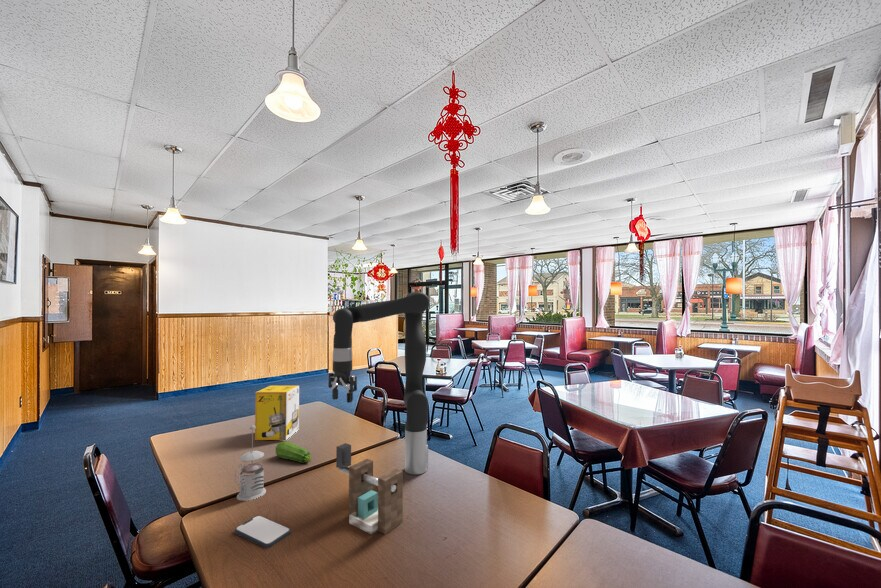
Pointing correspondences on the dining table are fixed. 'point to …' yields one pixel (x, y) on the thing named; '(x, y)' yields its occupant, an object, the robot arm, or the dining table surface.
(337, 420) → the dining table surface
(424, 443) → the robot arm
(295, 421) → the packaging box
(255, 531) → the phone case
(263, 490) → the french press
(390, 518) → the bearing frame
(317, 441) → the dining table surface
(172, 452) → the dining table surface
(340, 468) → the shaft
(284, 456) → the vegetable
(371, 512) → the block
